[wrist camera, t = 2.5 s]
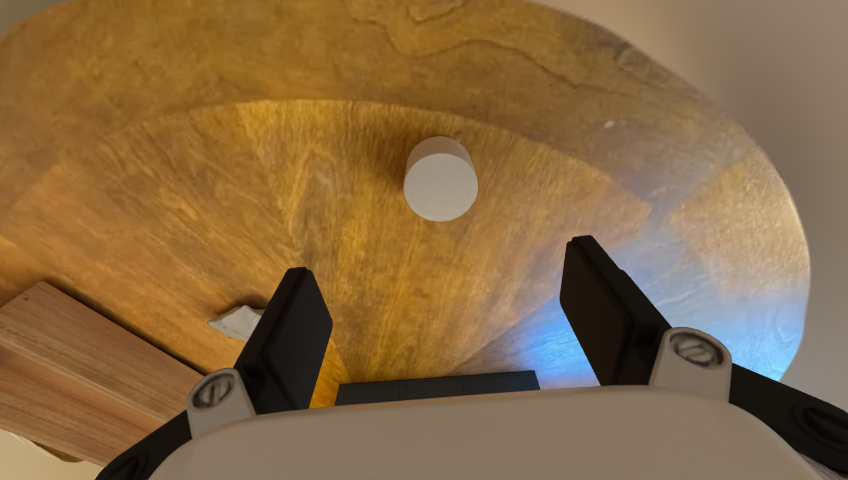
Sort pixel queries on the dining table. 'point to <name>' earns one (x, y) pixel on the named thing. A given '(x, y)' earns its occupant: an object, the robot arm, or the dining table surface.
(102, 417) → the tray
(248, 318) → the stone
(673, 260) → the dining table surface
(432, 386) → the grid
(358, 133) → the dining table surface
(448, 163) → the cylinder
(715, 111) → the dining table surface
